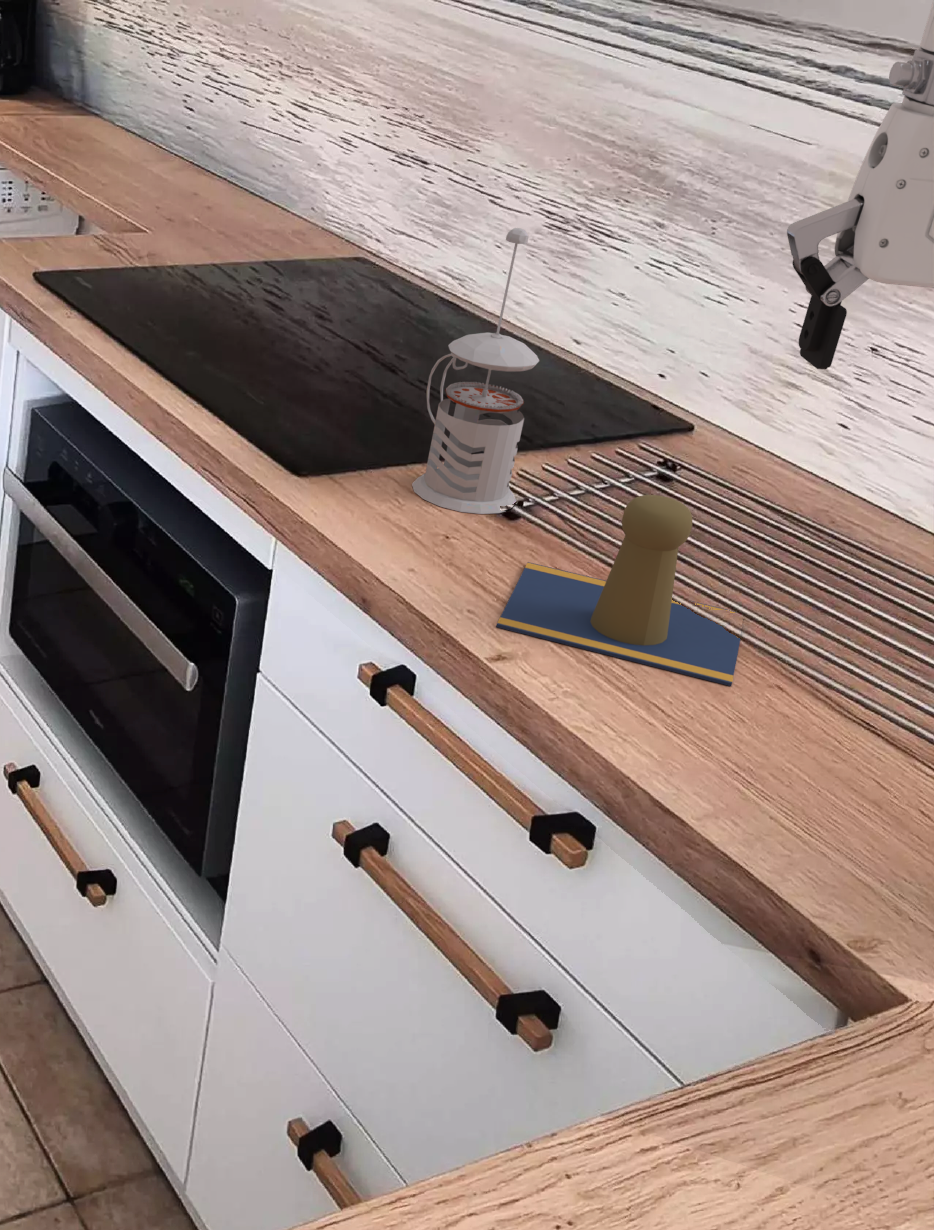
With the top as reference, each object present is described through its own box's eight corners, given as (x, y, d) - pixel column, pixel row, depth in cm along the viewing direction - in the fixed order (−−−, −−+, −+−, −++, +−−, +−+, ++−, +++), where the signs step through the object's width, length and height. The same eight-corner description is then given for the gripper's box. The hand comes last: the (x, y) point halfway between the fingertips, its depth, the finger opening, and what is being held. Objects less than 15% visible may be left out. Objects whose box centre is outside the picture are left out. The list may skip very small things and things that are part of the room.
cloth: (744, 616, 142) (745, 613, 142) (731, 686, 131) (732, 682, 131) (526, 564, 148) (527, 561, 148) (495, 627, 137) (496, 623, 136)
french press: (458, 519, 156) (515, 245, 144) (378, 473, 165) (426, 211, 153) (539, 506, 160) (600, 240, 149) (457, 462, 169) (509, 207, 158)
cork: (588, 605, 141) (619, 481, 136) (663, 618, 140) (698, 493, 135) (592, 637, 136) (625, 509, 130) (671, 650, 135) (707, 521, 130)
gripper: (862, 88, 97) (778, 377, 105) (1155, 114, 98) (1049, 398, 106) (808, 66, 104) (733, 340, 112) (1083, 90, 105) (989, 360, 113)
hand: (887, 368), depth 109 cm, fingers open, 9 cm apart
